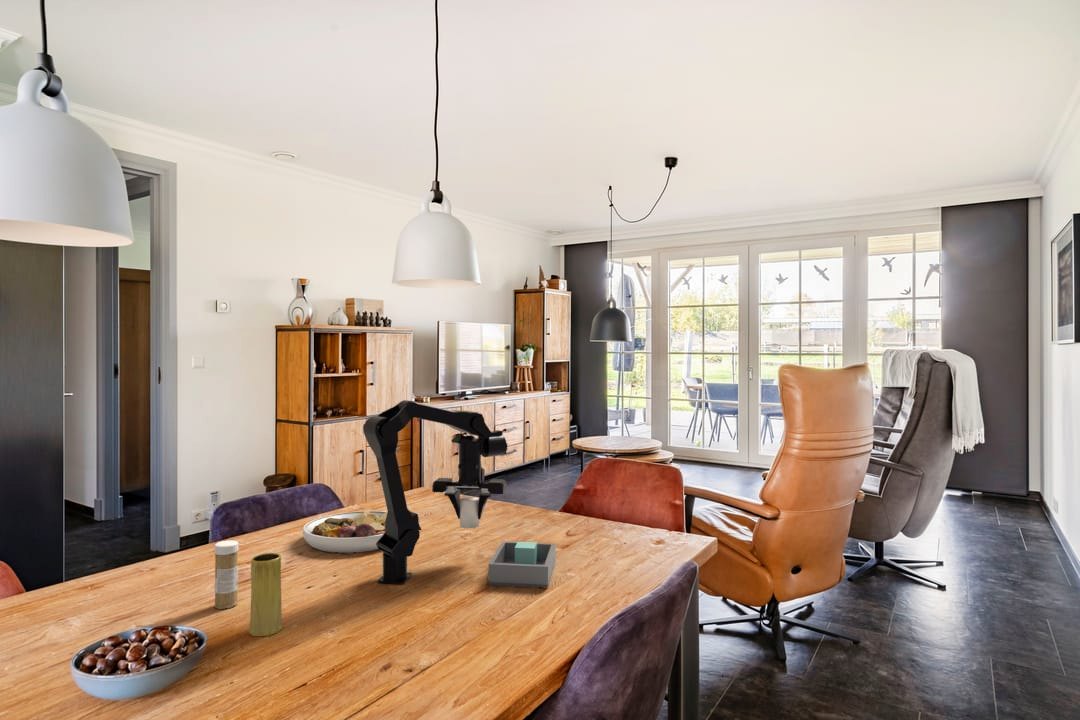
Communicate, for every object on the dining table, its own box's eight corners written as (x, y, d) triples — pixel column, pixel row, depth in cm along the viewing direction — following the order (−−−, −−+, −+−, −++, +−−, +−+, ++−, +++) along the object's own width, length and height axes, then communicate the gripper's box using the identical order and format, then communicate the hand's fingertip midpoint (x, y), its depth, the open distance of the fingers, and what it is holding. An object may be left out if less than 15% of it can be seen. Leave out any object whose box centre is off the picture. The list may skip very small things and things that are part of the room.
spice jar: (219, 601, 134) (219, 539, 134) (241, 601, 135) (241, 539, 135) (210, 610, 130) (210, 546, 130) (233, 609, 130) (233, 545, 130)
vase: (245, 639, 117) (246, 563, 117) (251, 625, 123) (252, 553, 123) (280, 635, 118) (280, 560, 118) (284, 622, 124) (285, 551, 124)
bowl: (297, 533, 187) (297, 507, 187) (396, 522, 201) (396, 497, 201) (309, 563, 161) (309, 532, 161) (422, 547, 174) (422, 519, 174)
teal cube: (536, 562, 159) (537, 542, 159) (534, 568, 154) (534, 548, 154) (517, 561, 160) (517, 541, 160) (514, 567, 155) (514, 547, 155)
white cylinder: (476, 528, 159) (476, 501, 159) (457, 528, 160) (457, 500, 160) (480, 523, 164) (481, 497, 164) (462, 522, 165) (462, 496, 165)
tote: (548, 588, 143) (548, 566, 143) (488, 585, 145) (488, 564, 145) (555, 562, 161) (555, 543, 161) (502, 560, 163) (502, 541, 163)
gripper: (510, 455, 169) (509, 512, 169) (443, 453, 171) (443, 510, 171) (502, 462, 158) (502, 523, 158) (431, 460, 160) (431, 520, 160)
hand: (469, 518), depth 162 cm, fingers closed on white cylinder, 5 cm apart
